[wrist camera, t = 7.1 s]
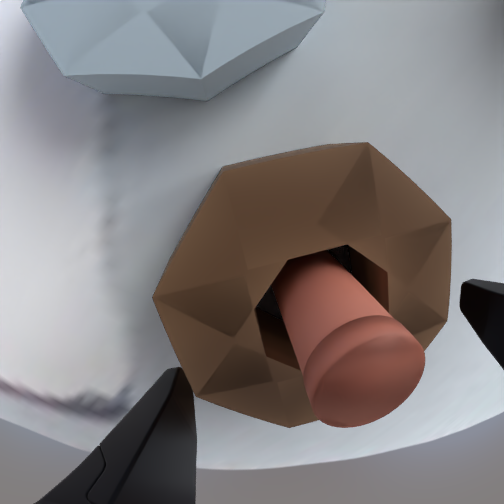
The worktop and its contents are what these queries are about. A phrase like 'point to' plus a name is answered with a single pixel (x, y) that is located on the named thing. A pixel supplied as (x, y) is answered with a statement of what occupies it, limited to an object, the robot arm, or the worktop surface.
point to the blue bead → (168, 41)
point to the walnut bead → (288, 247)
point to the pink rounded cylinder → (345, 342)
